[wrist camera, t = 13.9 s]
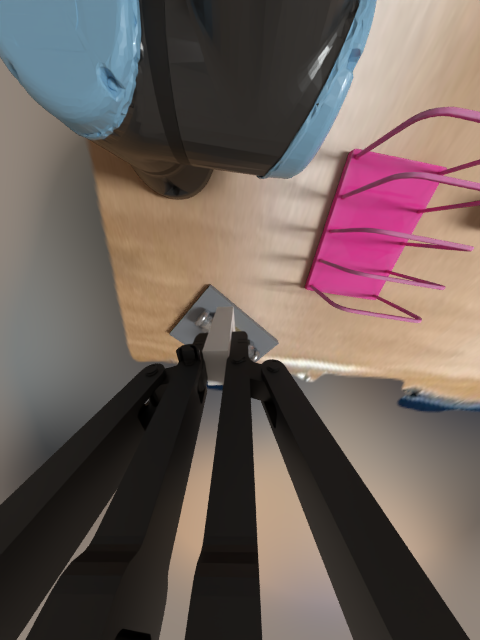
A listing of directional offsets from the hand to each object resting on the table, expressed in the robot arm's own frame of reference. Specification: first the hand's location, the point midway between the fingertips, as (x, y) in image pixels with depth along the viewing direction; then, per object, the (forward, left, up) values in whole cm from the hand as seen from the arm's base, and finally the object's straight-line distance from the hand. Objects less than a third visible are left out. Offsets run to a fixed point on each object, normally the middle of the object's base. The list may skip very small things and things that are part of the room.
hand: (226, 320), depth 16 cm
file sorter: (+16, +23, -27) cm, 39 cm away
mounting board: (+10, -16, -26) cm, 32 cm away
